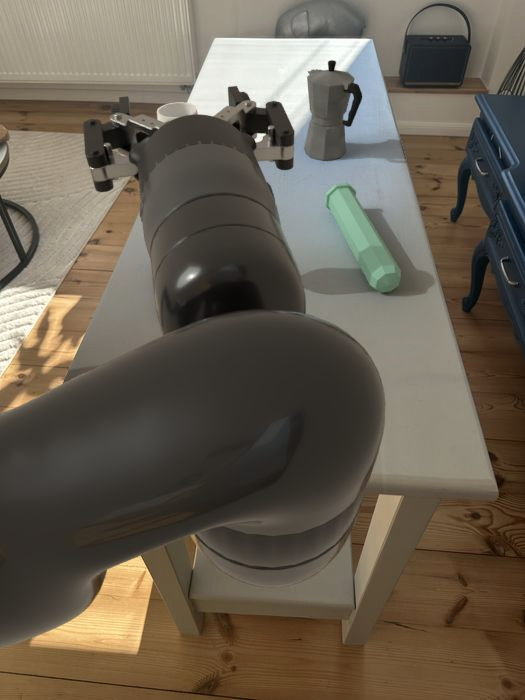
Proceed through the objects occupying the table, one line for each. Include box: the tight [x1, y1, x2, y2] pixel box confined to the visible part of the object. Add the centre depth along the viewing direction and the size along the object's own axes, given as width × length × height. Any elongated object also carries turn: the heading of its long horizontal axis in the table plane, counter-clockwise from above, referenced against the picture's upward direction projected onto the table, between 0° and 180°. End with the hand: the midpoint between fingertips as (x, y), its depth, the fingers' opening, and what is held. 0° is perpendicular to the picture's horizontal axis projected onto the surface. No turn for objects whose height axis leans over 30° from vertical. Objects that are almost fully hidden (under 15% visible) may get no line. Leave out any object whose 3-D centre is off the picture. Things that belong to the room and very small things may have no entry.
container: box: [324, 182, 402, 294], centre depth 80 cm, size 6×6×25 cm
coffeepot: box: [303, 59, 363, 161], centre depth 99 cm, size 15×9×18 cm, turn 36°
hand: (180, 104), depth 39 cm, fingers open, 8 cm apart
